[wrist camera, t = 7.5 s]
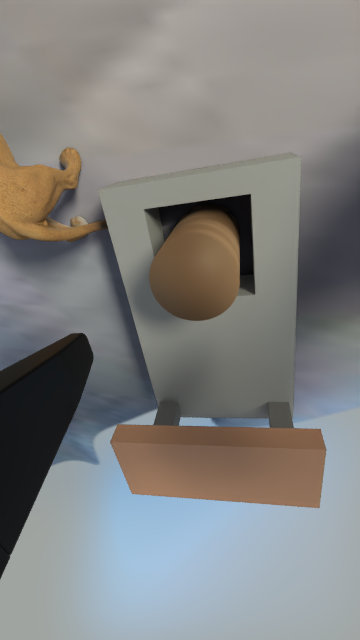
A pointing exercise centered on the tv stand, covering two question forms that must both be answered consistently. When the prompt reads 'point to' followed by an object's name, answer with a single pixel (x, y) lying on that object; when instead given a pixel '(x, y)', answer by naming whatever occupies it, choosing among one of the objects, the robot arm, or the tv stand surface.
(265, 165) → the socket block
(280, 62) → the tv stand surface
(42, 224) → the lion figurine
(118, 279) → the tv stand surface
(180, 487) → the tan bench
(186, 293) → the peg
